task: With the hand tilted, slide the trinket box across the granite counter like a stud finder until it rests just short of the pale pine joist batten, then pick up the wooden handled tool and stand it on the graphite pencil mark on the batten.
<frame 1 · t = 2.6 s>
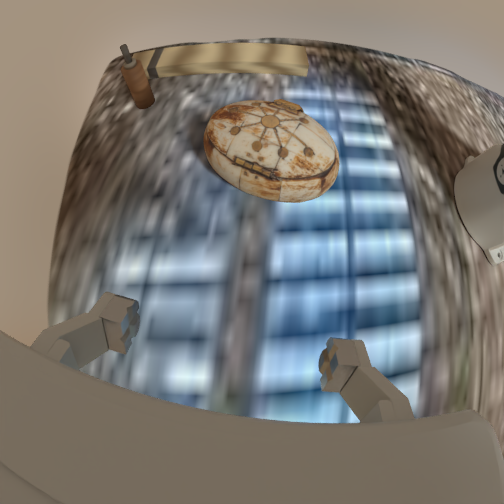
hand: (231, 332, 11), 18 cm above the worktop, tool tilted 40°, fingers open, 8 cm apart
joist batten: (203, 63, 39), on the worktop
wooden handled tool: (145, 102, 36), on the worktop
trinket box: (268, 164, 34), on the worktop
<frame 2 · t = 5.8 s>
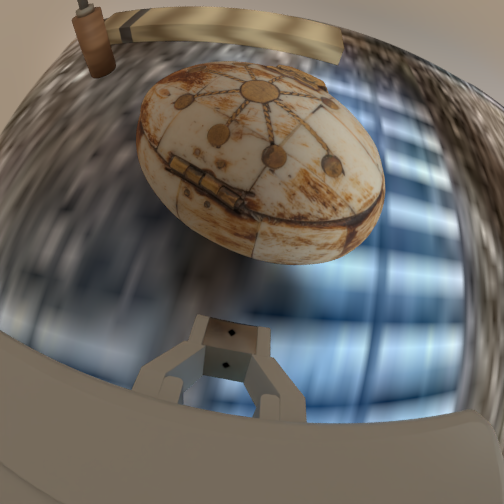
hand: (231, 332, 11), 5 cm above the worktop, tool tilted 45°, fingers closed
joist batten: (196, 30, 25), on the worktop
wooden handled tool: (103, 69, 22), on the worktop
trinket box: (250, 181, 19), on the worktop
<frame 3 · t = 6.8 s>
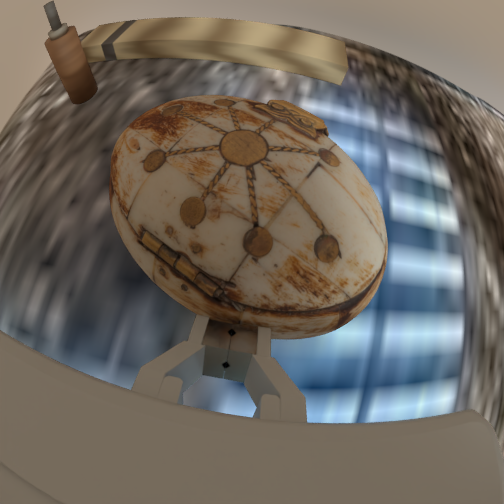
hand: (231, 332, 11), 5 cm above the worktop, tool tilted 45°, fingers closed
joist batten: (185, 45, 24), on the worktop
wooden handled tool: (84, 94, 21), on the worktop
trinket box: (239, 230, 18), on the worktop
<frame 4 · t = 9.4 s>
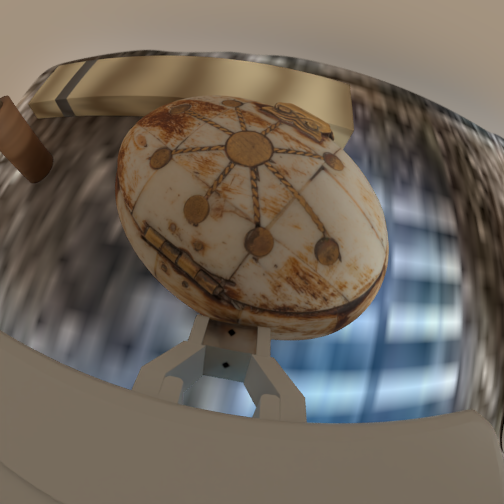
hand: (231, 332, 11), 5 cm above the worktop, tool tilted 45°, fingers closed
joist batten: (152, 93, 21), on the worktop
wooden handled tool: (40, 168, 18), on the worktop
trinket box: (242, 230, 18), on the worktop
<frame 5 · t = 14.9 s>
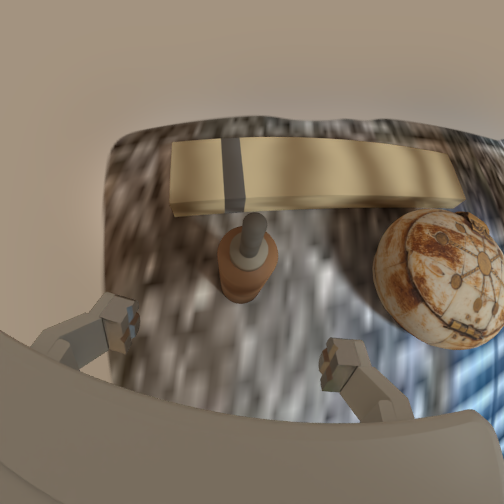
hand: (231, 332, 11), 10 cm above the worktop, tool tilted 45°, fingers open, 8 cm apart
joist batten: (318, 179, 25), on the worktop
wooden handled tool: (240, 284, 21), on the worktop
trinket box: (429, 288, 23), on the worktop
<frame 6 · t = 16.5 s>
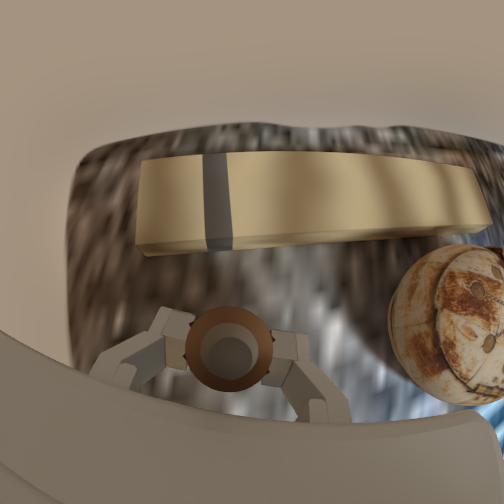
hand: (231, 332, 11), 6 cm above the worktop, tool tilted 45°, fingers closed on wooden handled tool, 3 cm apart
joist batten: (326, 204, 20), on the worktop
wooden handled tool: (228, 343, 17), on the worktop, touching gripper
trinket box: (448, 332, 18), on the worktop
when the fingers open (10 cm above the worktop, at t = 20.3 s): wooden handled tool drops 1 cm, resting on joist batten.
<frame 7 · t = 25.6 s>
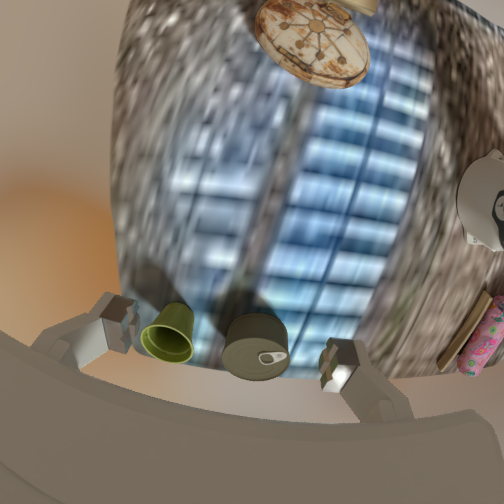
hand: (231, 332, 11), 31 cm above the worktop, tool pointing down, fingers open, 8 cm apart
plant pot: (179, 313, 51), on the worktop
pencil case cradle: (475, 331, 51), on the worktop
can: (257, 334, 53), on the worktop
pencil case: (479, 326, 50), resting in pencil case cradle
trinket box: (309, 45, 30), on the worktop
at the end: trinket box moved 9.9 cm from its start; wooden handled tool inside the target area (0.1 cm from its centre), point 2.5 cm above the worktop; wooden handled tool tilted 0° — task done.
